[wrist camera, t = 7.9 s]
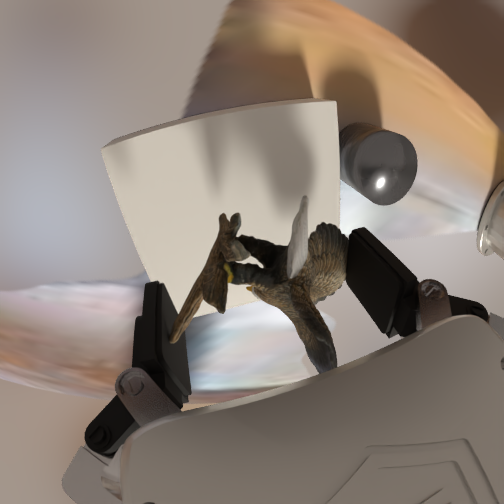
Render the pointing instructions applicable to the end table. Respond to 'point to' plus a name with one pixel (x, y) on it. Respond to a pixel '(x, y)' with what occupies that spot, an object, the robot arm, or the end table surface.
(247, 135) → the white slab
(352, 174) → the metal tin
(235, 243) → the eagle figurine
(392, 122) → the end table surface
